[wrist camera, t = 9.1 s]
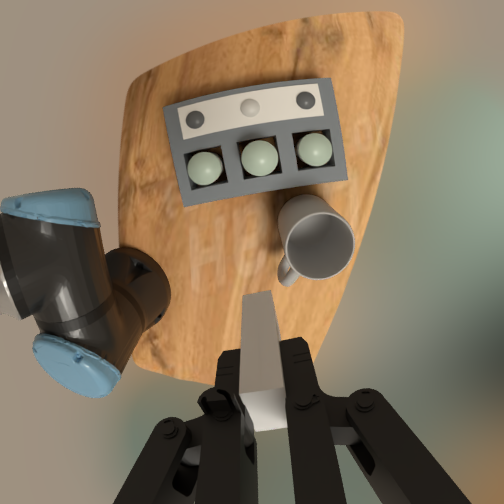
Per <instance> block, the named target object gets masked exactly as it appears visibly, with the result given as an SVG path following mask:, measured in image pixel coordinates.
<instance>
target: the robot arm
mask: <svg viewBox="0 0 504 504" xmlns="http://www.w3.org/2000/svg"><path fill="white" fill-rule="evenodd" d="M0 210H1V212H2V213H1V214H0V314H2V313H3V314H8V315H10V316H12V317H14V318H16V319H18V320H22V319H24V318H26V317H28V316H30V315H33V316H34V318H35V320H36V323H37V325H38V327H39V329H40V334H38V335H36V336H35V340H34V342H33V353H34V355H35V358H36V359H37V361H38V362H39V364H40V365H41V366H42V368H43V369H44V370H45V371H46V372H47V373H48V374H49V375H50V376H51V377H52V378H53V379H55V380H56V381H57V382H58V383H60V384H61V385H63V386H64V387H66V388H67V389H69V390H71V391H73V392H75V393H77V394H80V395H83V396H86V397H91V398H101V397H105V396H107V395H108V394H109V393H110V392H111V391H112V390H113V388H114V386H115V385H116V383H117V382H118V381H119V380H120V379H121V374H122V372H123V370H124V368H125V366H126V364H127V362H128V360H129V358H130V356H131V354H132V352H133V350H134V348H135V347H136V345H137V343H138V341H139V339H140V337H141V335H142V333H143V332H145V331H146V330H148V329H149V328H151V327H152V326H153V325H155V324H156V323H158V322H159V321H160V320H161V319H162V317H163V316H164V314H165V312H166V310H167V308H168V306H169V304H170V299H171V290H170V285H169V282H168V279H167V277H166V275H165V273H164V272H163V270H162V269H161V267H160V266H159V265H158V264H157V263H156V262H155V261H154V260H153V259H152V258H151V257H149V256H148V255H146V254H144V253H143V252H141V251H138V250H135V249H131V248H117V249H114V250H111V251H110V252H108V253H107V254H104V249H103V244H102V239H101V233H100V227H101V226H100V222H98V218H97V214H96V209H95V204H94V199H93V197H92V195H91V194H90V192H88V191H87V190H85V189H82V188H69V189H59V190H50V191H43V192H36V193H29V194H23V195H18V196H13V197H8V198H5V199H3V200H2V202H1V207H0ZM198 404H199V406H200V407H201V409H202V410H203V412H204V415H202V416H200V417H198V418H195V419H193V420H189V421H186V422H183V421H182V420H181V419H179V418H176V417H169V418H166V419H163V420H162V421H160V422H159V423H158V424H157V425H156V426H155V428H154V430H153V431H152V433H151V435H150V437H149V439H148V441H147V443H146V444H145V446H144V448H143V450H142V452H141V453H140V455H139V457H138V459H137V461H136V463H135V464H134V466H133V468H132V470H131V472H130V473H129V475H128V477H127V479H126V481H125V483H124V485H123V486H122V488H121V490H120V492H119V494H118V495H117V497H116V499H115V501H114V503H113V504H194V501H195V504H258V474H257V443H256V439H255V437H254V428H255V430H256V431H265V430H272V429H278V428H285V427H287V428H288V436H289V446H290V455H291V465H292V474H293V484H294V494H295V504H347V503H346V498H345V493H344V488H343V483H342V478H341V474H340V469H339V465H338V460H337V455H336V451H335V446H334V445H346V447H347V448H348V450H349V451H350V453H351V455H352V456H353V458H354V459H355V461H356V463H357V464H358V466H359V467H360V469H361V471H362V472H363V474H364V476H365V477H366V479H367V480H368V482H369V483H370V485H371V486H372V488H373V490H374V491H375V493H376V494H377V496H378V498H379V499H380V501H381V502H382V503H383V504H471V503H470V501H469V500H468V499H467V497H466V496H465V495H464V494H463V493H462V491H461V490H460V489H459V488H458V486H457V485H456V484H455V483H454V481H453V480H452V479H451V478H450V476H449V475H448V474H447V473H446V472H445V471H444V469H443V468H442V467H441V465H440V464H439V463H438V462H437V461H436V460H435V458H434V457H433V456H432V454H431V453H430V452H429V451H428V450H427V448H426V447H425V446H424V445H423V444H422V442H421V441H420V440H419V439H418V437H417V436H416V435H415V434H414V433H413V432H412V430H411V429H410V428H409V427H408V425H407V424H406V423H405V422H404V421H403V419H402V418H401V417H400V416H399V415H398V413H397V412H396V411H395V410H394V409H393V407H392V406H391V405H390V404H389V403H388V402H387V400H386V399H385V398H384V397H383V395H382V394H381V393H379V392H378V391H376V390H374V389H370V388H366V389H360V390H357V391H355V392H354V393H352V394H351V395H350V396H349V397H333V396H329V395H327V394H325V393H324V392H323V391H322V390H321V389H320V387H319V385H318V381H317V377H316V374H315V369H314V366H313V362H312V358H311V354H310V350H309V346H308V343H307V342H306V341H305V340H304V339H303V338H302V337H297V338H292V339H288V340H282V341H281V336H280V330H279V325H278V321H277V316H276V311H275V307H274V302H273V298H272V293H271V290H268V291H263V292H258V293H253V294H248V295H243V301H242V326H241V349H235V350H228V351H223V353H222V354H221V356H220V357H219V359H218V363H217V371H216V379H215V387H213V388H210V389H208V390H206V391H204V392H203V393H202V394H201V396H200V397H199V399H198Z"/></svg>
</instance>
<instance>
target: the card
mask: <svg viewBox="0 0 504 504" xmlns="http://www.w3.org/2000/svg"><path fill="white" fill-rule="evenodd" d="M177 109H178V114H179V120H180V125H181V130H182V135H183V140H185V139H189V138H193V137H197V136H201V135H205V134H210V133H214V132H219V131H223V130H228V129H233V128H238V127H244V126H249V125H255V124H261V123H267V122H274V121H281V120H288V119H296V118H305V117H315V116H324V112H323V107H322V102H321V97H320V92H319V87H318V84H305V85H295V86H286V87H277V88H270V89H263V90H257V91H251V92H245V93H239V94H234V95H229V96H224V97H220V98H215V99H211V100H207V101H202V102H198V103H195V104H191V105H187V106H183V107H180V108H177Z"/></svg>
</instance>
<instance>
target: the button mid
mask: <svg viewBox="0 0 504 504" xmlns="http://www.w3.org/2000/svg"><path fill="white" fill-rule="evenodd" d="M241 160H242V164H243V166H244V168H245V169H246V170H247V171H248V172H249V173H250V174H252V175H255V176H265V175H268V174H270V173H271V172H272V171H273V170H274V169H275V168H276V166H277V163H278V153H277V151H276V149H275V148H274V146H273V145H271V144H270V143H268V142H266V141H261V140H259V141H254V142H251V143H249V144H248V145H247V146H246V147H245V148H244V150H243V152H242V157H241Z"/></svg>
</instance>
